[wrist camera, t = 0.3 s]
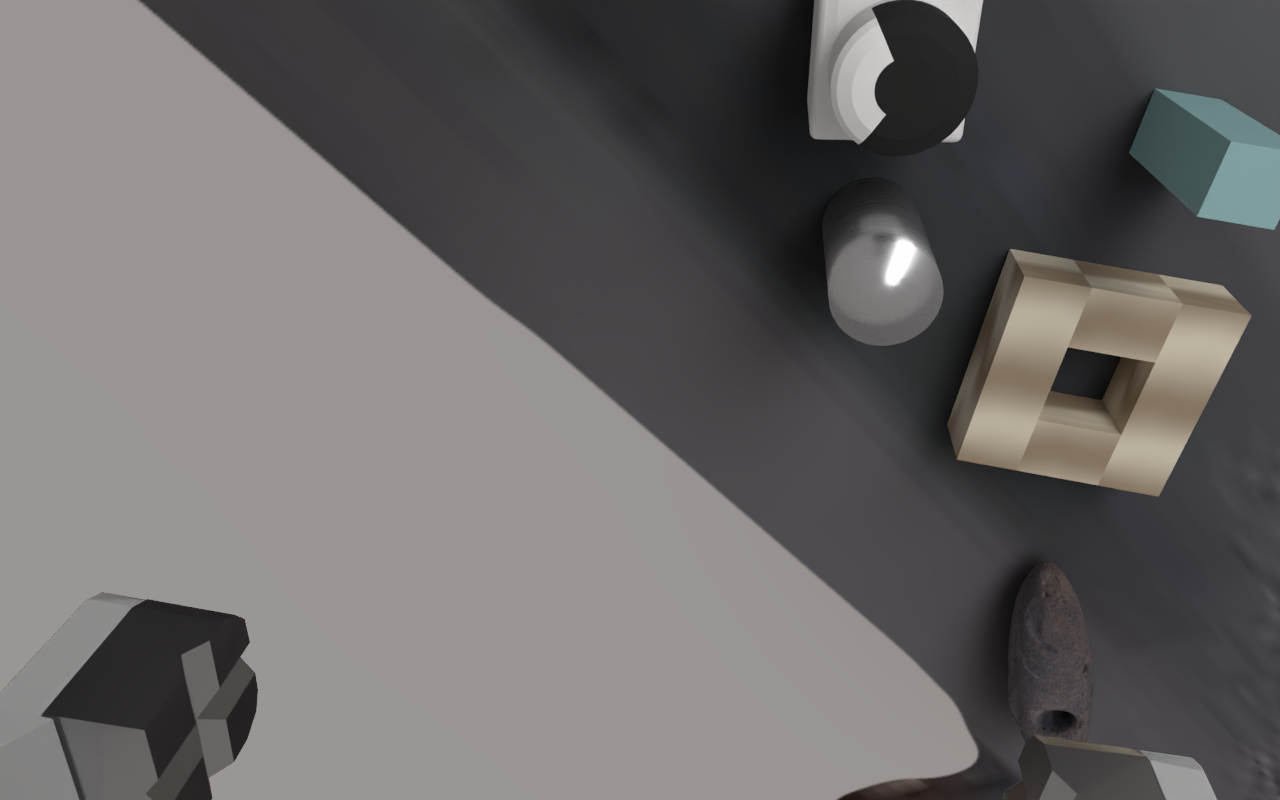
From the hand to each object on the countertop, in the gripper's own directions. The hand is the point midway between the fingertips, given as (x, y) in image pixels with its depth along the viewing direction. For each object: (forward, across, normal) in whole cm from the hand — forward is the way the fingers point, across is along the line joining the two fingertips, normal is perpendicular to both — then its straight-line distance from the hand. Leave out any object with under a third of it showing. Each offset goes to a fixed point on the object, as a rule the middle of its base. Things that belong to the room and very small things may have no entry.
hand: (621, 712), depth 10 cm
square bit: (+47, -23, +3) cm, 53 cm away
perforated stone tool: (+48, -26, +38) cm, 66 cm away
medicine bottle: (+48, -7, 0) cm, 48 cm away
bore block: (+47, -22, +17) cm, 55 cm away
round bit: (+47, -8, +10) cm, 49 cm away
